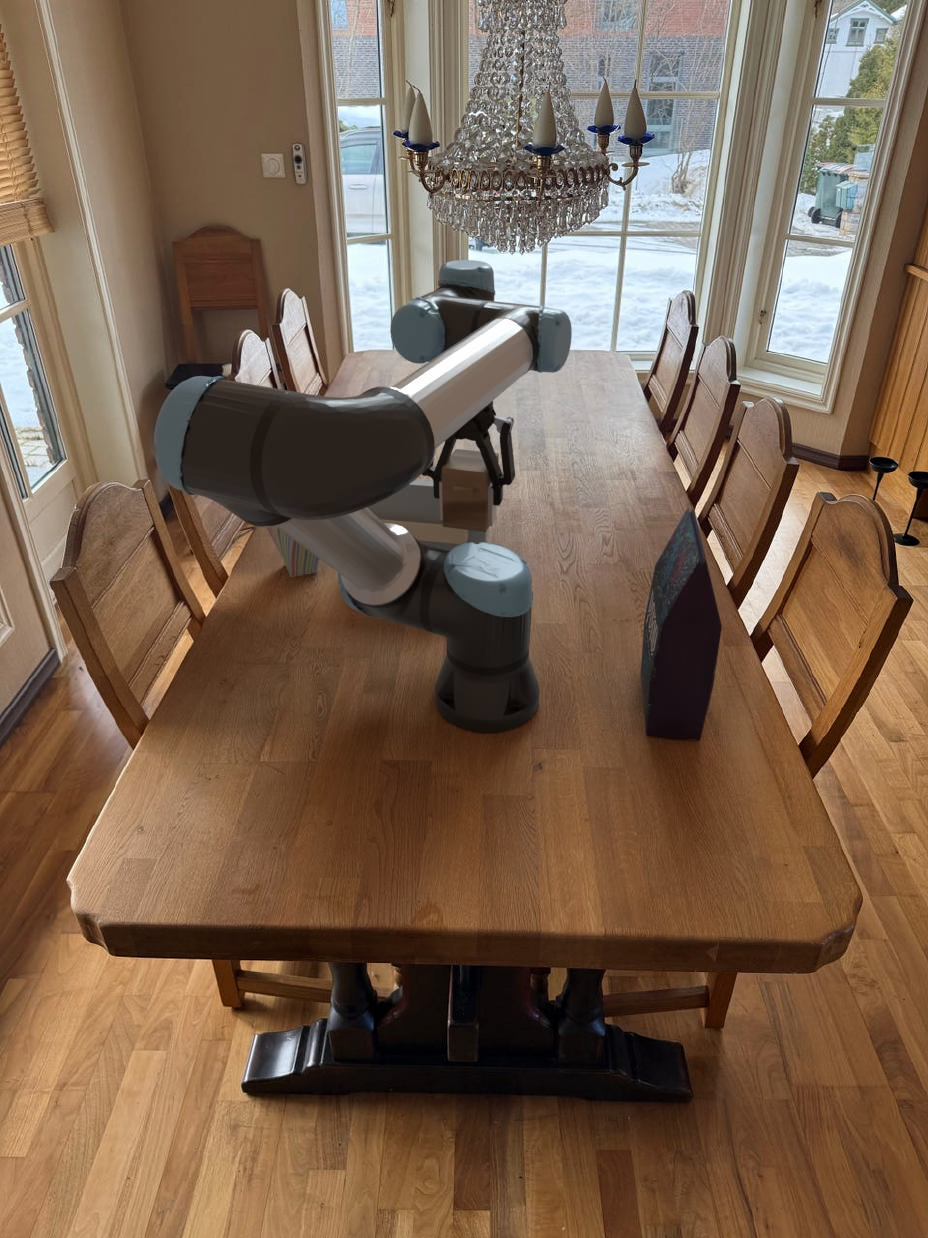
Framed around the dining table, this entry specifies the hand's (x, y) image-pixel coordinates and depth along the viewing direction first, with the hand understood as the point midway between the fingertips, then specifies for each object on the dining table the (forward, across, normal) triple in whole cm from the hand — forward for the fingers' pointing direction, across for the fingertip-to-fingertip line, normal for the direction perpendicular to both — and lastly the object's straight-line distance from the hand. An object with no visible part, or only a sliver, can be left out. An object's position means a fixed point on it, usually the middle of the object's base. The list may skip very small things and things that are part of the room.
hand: (468, 519), depth 138 cm
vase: (+17, +34, -6) cm, 38 cm away
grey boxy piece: (+17, +12, -11) cm, 24 cm away
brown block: (+1, 0, -1) cm, 1 cm away
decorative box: (+17, -35, +17) cm, 42 cm away
